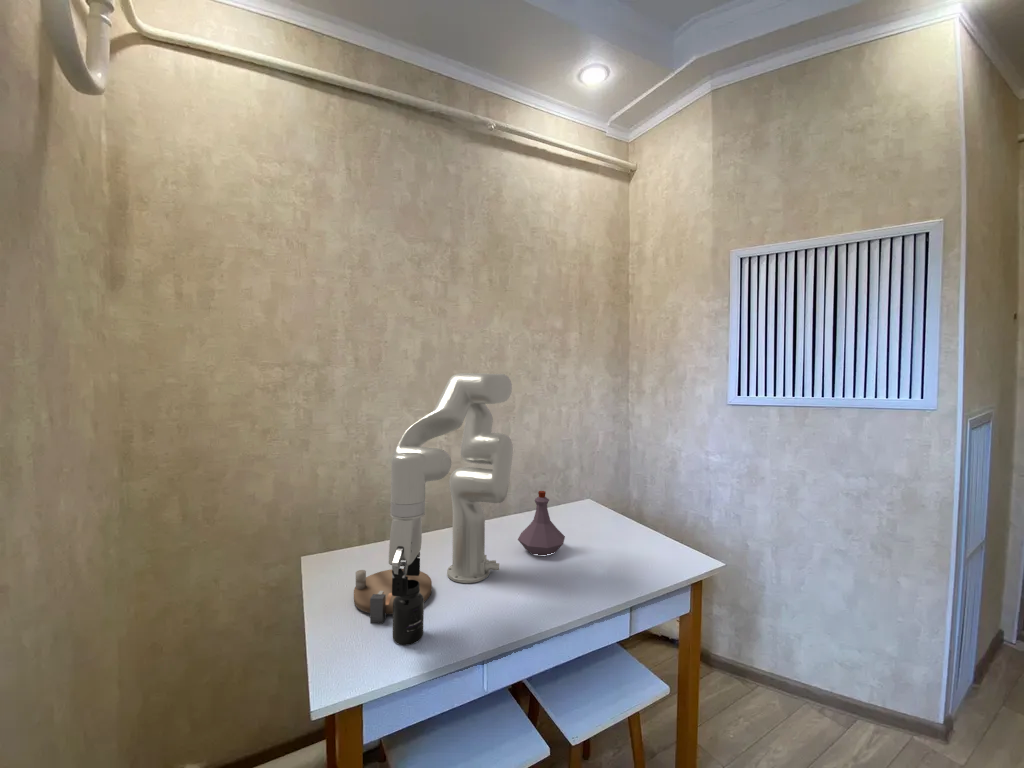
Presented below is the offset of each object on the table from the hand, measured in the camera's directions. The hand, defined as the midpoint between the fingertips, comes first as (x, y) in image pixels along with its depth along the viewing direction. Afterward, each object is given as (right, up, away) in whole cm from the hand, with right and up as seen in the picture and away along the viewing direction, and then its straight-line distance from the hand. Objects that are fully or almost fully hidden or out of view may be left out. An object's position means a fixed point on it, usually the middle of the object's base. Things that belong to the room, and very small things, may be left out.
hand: (406, 584), depth 96 cm
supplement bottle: (0, -12, +1) cm, 12 cm away
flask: (+34, -11, +48) cm, 60 cm away
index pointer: (-9, -12, +7) cm, 16 cm away
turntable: (-8, -12, +18) cm, 23 cm away
